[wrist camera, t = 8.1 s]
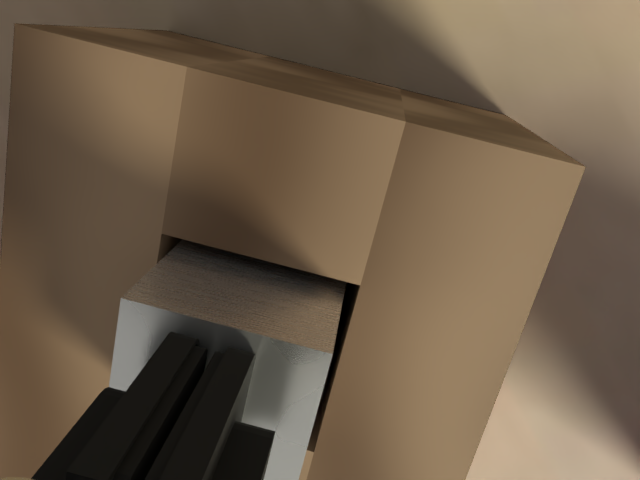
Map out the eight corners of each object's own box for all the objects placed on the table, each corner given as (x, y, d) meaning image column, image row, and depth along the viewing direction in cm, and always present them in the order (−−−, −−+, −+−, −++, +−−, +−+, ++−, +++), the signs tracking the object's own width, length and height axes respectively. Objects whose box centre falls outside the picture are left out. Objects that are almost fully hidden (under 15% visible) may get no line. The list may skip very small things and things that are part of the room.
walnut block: (506, 115, 21) (586, 166, 12) (328, 649, 29) (302, 899, 21) (166, 30, 21) (14, 23, 13) (89, 582, 30) (-33, 801, 21)
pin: (356, 226, 19) (332, 354, 11) (326, 339, 20) (286, 523, 12) (230, 194, 19) (120, 297, 11) (208, 308, 20) (97, 472, 12)
